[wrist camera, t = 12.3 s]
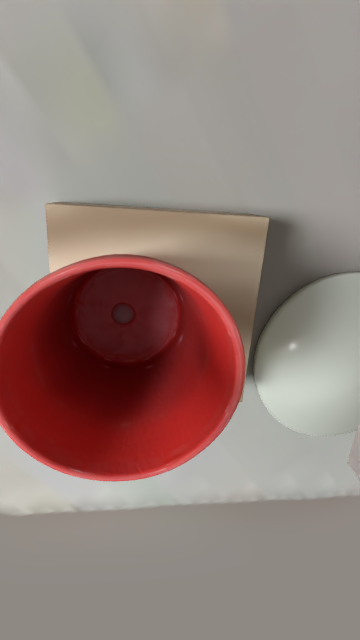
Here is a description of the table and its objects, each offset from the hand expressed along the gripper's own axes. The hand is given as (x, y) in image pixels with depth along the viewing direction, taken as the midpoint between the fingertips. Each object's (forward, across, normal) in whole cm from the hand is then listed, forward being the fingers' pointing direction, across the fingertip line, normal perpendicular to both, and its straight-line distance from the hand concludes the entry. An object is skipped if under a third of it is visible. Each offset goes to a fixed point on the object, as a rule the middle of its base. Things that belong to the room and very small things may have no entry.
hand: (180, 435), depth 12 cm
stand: (+17, 0, -1) cm, 17 cm away
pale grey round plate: (+17, +17, -6) cm, 24 cm away
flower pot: (+13, -2, 0) cm, 13 cm away
